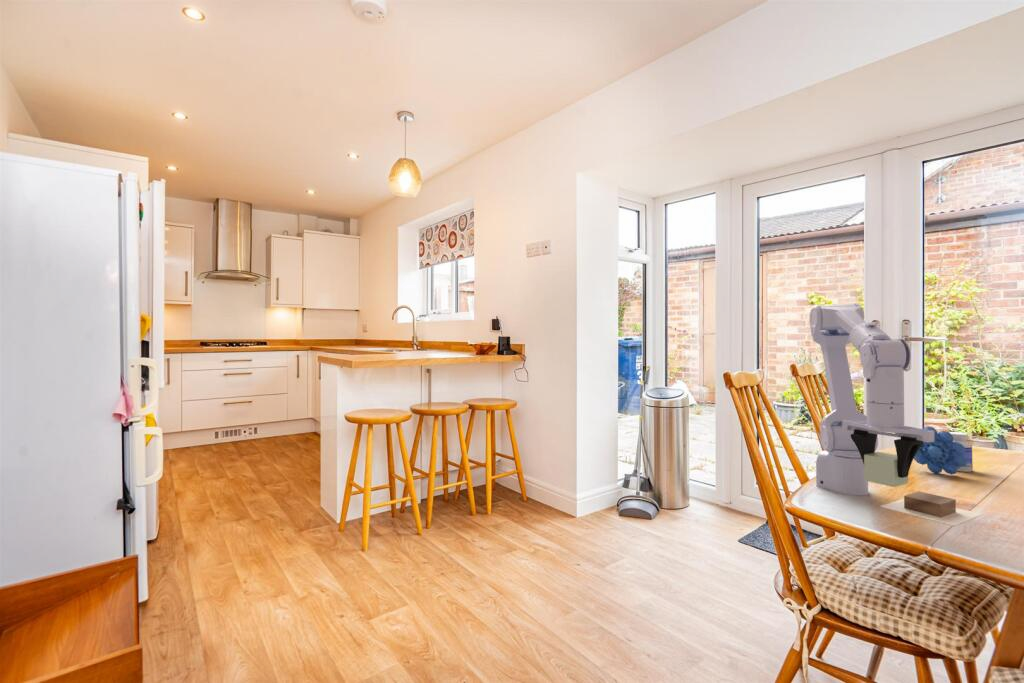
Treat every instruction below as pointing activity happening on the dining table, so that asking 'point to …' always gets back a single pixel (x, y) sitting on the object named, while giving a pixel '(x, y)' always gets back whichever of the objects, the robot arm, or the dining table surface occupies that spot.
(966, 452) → the pill bottle
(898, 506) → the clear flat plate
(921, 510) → the walnut base block
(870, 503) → the dining table surface
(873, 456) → the sage block
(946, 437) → the blue flower
